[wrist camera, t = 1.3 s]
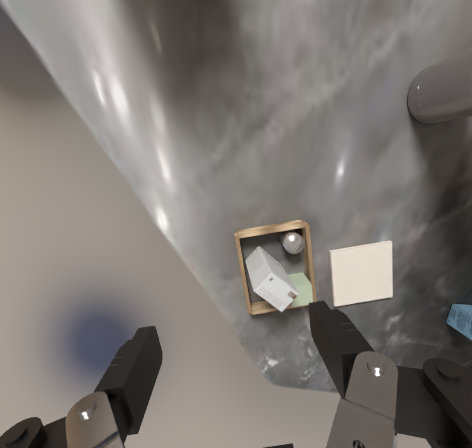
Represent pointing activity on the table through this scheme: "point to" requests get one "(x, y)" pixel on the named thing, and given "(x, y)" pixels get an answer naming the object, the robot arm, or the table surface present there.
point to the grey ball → (292, 241)
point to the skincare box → (270, 279)
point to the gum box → (461, 319)
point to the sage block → (301, 289)
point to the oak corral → (264, 305)
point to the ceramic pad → (361, 273)
